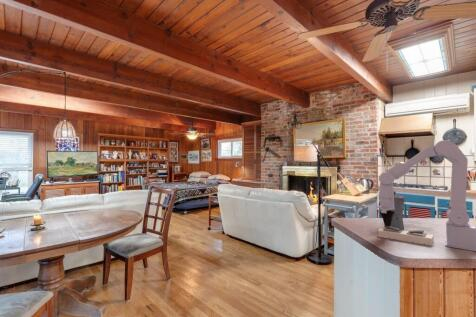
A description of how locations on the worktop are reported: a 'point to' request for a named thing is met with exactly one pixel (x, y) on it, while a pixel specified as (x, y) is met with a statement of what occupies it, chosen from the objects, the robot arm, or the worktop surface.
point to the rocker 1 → (392, 228)
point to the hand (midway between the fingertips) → (387, 226)
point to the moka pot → (398, 212)
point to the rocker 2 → (416, 231)
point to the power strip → (406, 236)
